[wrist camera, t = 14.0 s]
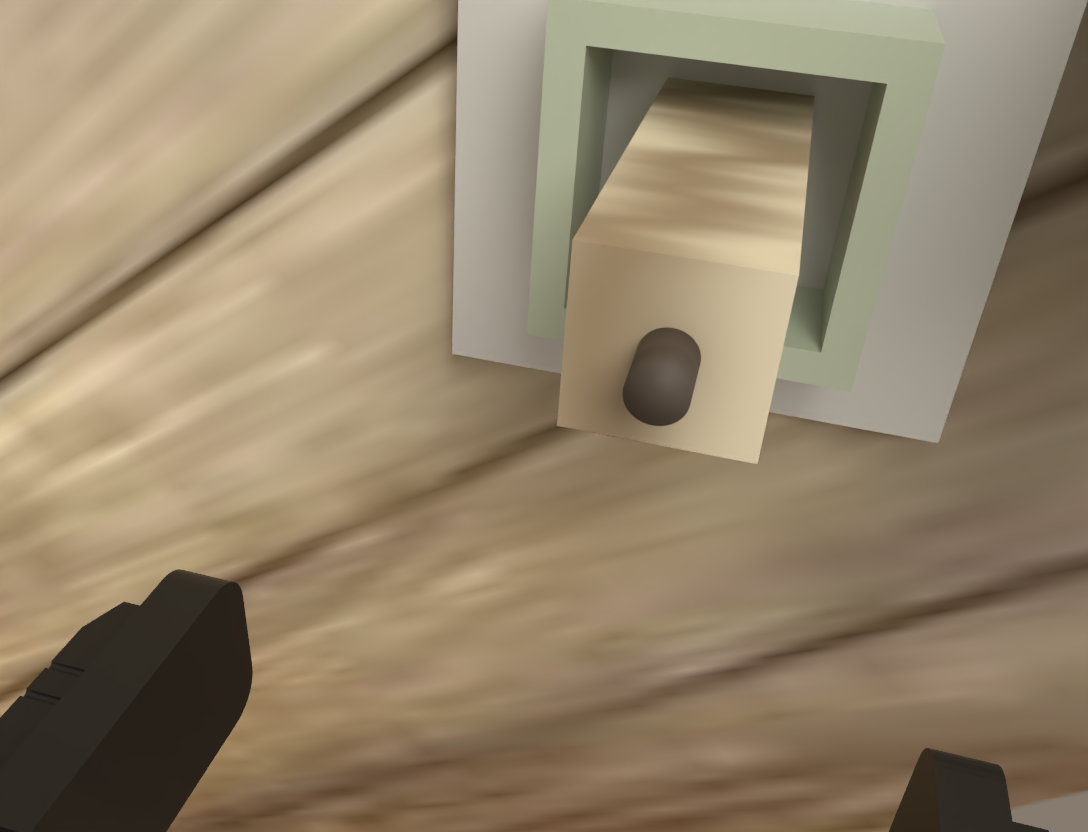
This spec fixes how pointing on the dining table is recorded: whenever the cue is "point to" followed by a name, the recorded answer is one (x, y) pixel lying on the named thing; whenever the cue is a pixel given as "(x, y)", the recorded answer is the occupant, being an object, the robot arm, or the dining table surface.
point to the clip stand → (832, 186)
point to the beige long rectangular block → (690, 272)
